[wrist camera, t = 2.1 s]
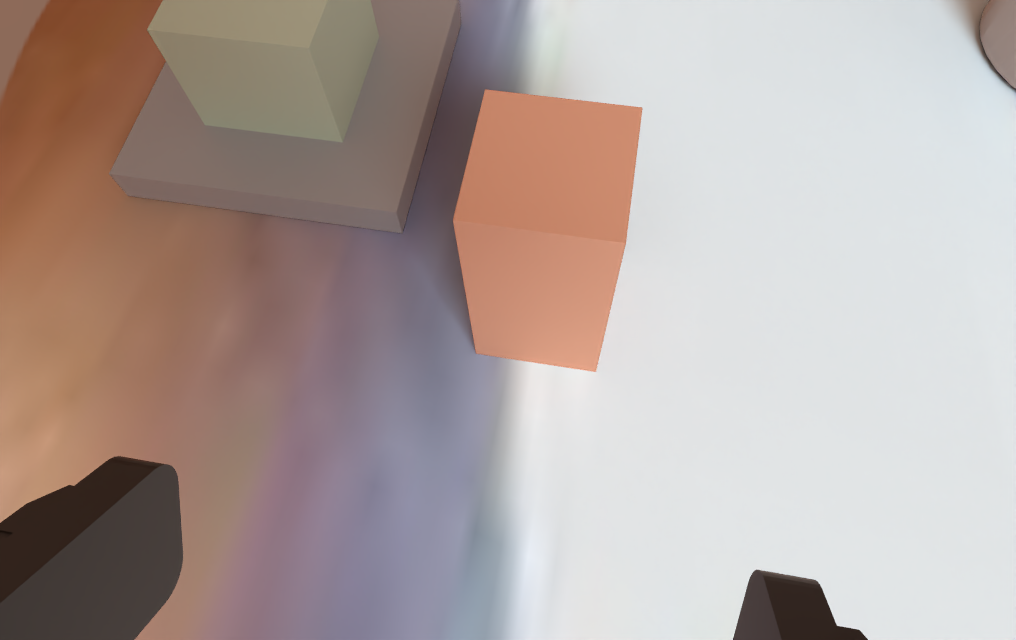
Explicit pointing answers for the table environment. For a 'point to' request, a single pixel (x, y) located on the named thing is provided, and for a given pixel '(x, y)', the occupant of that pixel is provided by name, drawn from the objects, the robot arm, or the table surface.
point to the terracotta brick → (545, 224)
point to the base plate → (304, 161)
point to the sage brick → (269, 61)
